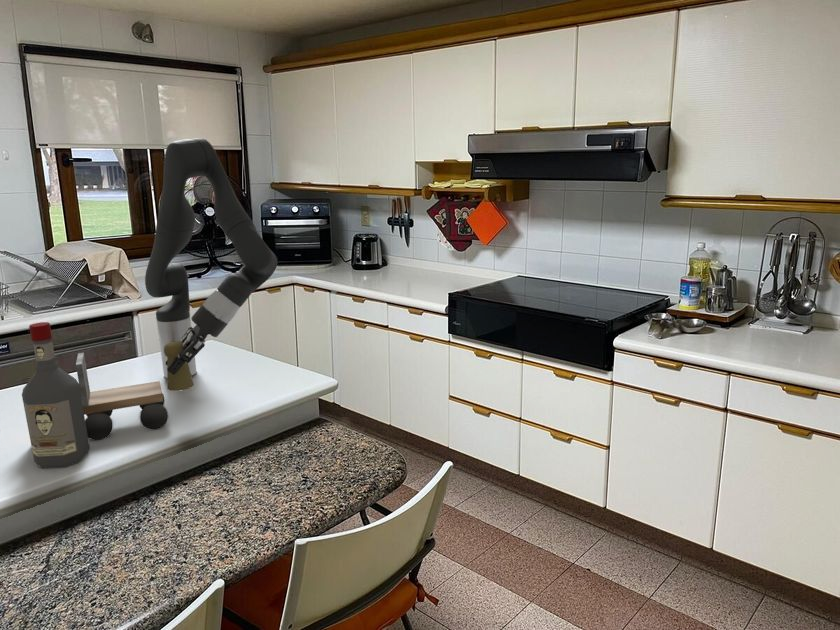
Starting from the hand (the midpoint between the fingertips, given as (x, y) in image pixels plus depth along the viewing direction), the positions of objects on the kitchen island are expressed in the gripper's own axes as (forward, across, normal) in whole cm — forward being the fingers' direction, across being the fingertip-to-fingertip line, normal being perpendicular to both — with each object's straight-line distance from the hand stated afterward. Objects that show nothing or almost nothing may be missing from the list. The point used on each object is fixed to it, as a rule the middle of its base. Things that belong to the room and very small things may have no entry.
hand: (169, 368), depth 152 cm
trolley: (+18, -6, +2) cm, 19 cm away
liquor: (+27, +8, -7) cm, 29 cm away
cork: (+2, 0, +5) cm, 5 cm away
